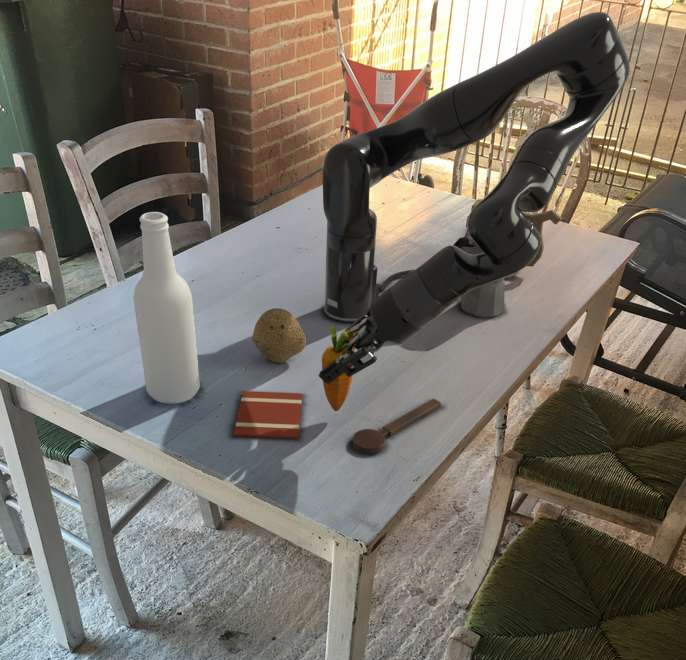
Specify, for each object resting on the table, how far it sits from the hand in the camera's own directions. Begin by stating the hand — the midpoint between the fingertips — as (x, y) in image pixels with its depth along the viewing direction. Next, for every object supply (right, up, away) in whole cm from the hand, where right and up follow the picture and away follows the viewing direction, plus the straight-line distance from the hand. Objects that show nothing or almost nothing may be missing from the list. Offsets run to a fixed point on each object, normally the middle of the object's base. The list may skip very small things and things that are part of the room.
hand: (325, 369), depth 118 cm
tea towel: (-9, -7, +6) cm, 13 cm away
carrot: (+2, -6, +5) cm, 8 cm away
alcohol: (-26, -3, +10) cm, 28 cm away
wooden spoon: (+11, -9, +4) cm, 15 cm away
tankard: (+39, +28, +53) cm, 71 cm away
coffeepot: (+30, +17, +38) cm, 51 cm away
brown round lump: (-9, +4, +19) cm, 21 cm away
